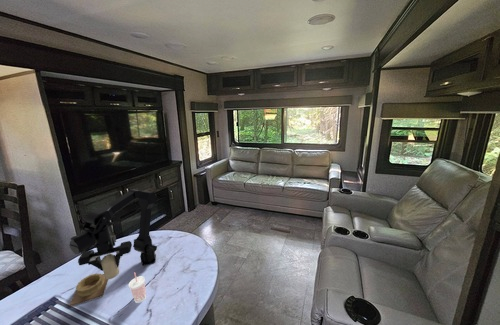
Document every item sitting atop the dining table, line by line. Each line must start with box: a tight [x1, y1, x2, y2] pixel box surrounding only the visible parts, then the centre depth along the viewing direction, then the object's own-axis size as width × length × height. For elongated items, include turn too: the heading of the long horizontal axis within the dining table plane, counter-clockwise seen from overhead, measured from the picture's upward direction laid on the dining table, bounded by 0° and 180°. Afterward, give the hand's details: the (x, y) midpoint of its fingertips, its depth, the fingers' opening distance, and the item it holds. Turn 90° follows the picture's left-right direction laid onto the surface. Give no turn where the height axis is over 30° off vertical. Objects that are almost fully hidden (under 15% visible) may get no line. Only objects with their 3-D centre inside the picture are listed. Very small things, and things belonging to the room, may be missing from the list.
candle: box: [101, 253, 120, 280], centre depth 90 cm, size 6×6×10 cm
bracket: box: [68, 273, 109, 307], centre depth 94 cm, size 12×14×4 cm
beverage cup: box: [128, 271, 147, 304], centre depth 87 cm, size 6×6×14 cm
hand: (110, 268), depth 90 cm, fingers closed on candle, 5 cm apart
